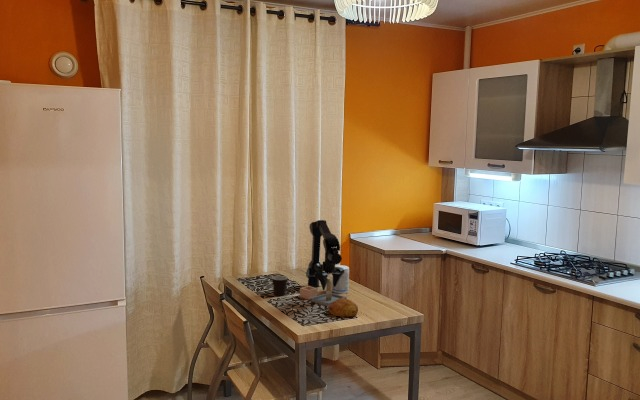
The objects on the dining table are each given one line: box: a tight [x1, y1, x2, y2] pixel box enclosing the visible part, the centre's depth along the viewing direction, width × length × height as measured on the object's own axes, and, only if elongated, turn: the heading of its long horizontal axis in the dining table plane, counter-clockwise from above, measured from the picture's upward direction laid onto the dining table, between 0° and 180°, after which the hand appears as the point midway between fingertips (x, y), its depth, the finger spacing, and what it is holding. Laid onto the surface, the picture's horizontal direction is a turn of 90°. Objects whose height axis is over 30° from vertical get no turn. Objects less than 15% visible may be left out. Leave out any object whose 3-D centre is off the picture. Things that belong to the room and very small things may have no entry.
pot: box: [299, 285, 318, 300], centre depth 280 cm, size 7×7×6 cm
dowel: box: [325, 278, 333, 301], centre depth 275 cm, size 3×3×11 cm
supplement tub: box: [331, 264, 350, 294], centre depth 293 cm, size 10×10×15 cm
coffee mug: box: [271, 275, 289, 297], centre depth 285 cm, size 12×9×10 cm
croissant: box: [327, 298, 359, 318], centre depth 258 cm, size 14×16×8 cm
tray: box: [310, 292, 348, 307], centre depth 275 cm, size 16×12×2 cm
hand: (329, 288), depth 275 cm, fingers open, 9 cm apart
